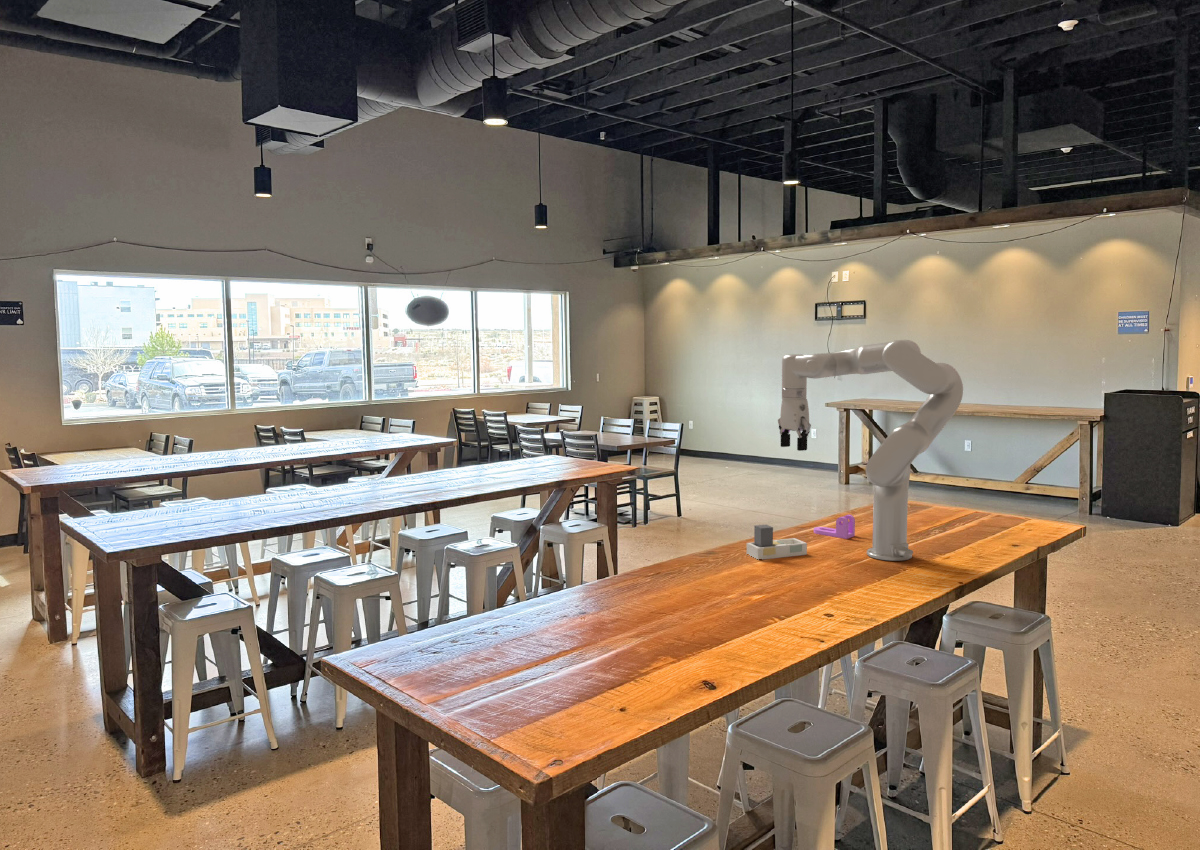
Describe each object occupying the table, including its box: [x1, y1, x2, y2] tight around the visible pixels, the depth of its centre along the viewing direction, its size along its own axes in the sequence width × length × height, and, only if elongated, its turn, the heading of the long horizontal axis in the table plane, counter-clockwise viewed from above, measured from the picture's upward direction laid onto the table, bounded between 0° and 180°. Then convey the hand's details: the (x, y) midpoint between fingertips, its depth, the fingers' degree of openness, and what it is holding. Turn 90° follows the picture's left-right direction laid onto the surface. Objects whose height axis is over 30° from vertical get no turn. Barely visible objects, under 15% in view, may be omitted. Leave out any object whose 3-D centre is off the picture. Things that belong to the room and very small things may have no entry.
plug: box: [753, 524, 774, 547], centre depth 243 cm, size 4×4×8 cm
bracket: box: [813, 514, 856, 540], centre depth 269 cm, size 13×6×7 cm, turn 45°
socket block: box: [746, 537, 808, 561], centre depth 245 cm, size 7×17×4 cm, turn 108°
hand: (793, 448), depth 256 cm, fingers open, 9 cm apart
